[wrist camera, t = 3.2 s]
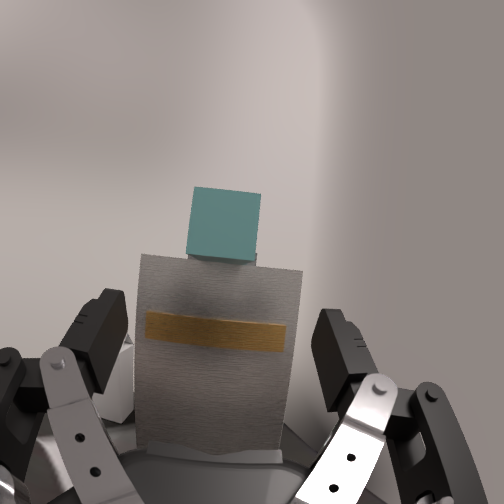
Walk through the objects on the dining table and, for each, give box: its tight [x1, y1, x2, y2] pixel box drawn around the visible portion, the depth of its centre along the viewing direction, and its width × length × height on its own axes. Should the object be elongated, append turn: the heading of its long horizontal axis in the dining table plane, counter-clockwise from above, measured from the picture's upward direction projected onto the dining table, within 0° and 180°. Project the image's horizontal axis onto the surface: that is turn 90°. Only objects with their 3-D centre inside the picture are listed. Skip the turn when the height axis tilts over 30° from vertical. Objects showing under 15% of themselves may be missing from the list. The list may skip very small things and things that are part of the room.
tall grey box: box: [134, 253, 303, 455], centre depth 34 cm, size 20×14×36 cm
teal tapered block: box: [186, 187, 261, 265], centre depth 28 cm, size 27×4×4 cm, turn 5°
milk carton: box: [92, 330, 134, 423], centre depth 49 cm, size 7×7×19 cm
